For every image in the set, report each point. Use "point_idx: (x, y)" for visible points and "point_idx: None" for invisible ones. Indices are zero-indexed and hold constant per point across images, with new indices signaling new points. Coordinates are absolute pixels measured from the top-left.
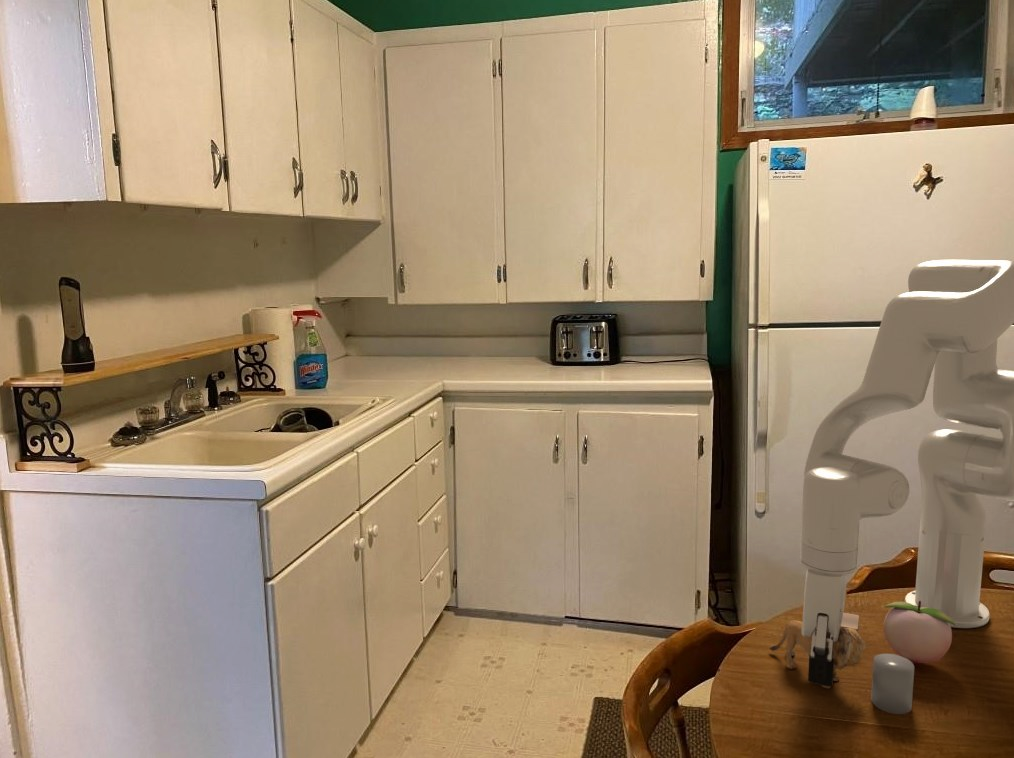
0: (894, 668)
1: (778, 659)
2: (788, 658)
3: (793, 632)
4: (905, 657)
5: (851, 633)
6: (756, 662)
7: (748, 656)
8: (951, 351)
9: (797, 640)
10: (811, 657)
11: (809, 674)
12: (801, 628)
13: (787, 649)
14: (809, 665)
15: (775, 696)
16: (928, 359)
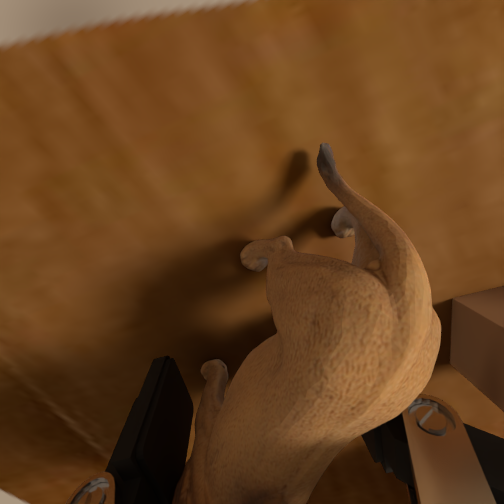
0: None
1: (283, 196)
2: (263, 251)
3: (285, 347)
4: None
5: None
6: (207, 131)
7: (232, 77)
8: None
9: (276, 338)
10: (76, 495)
11: (147, 380)
12: (311, 420)
13: (277, 253)
14: (132, 414)
15: (40, 282)
16: None
